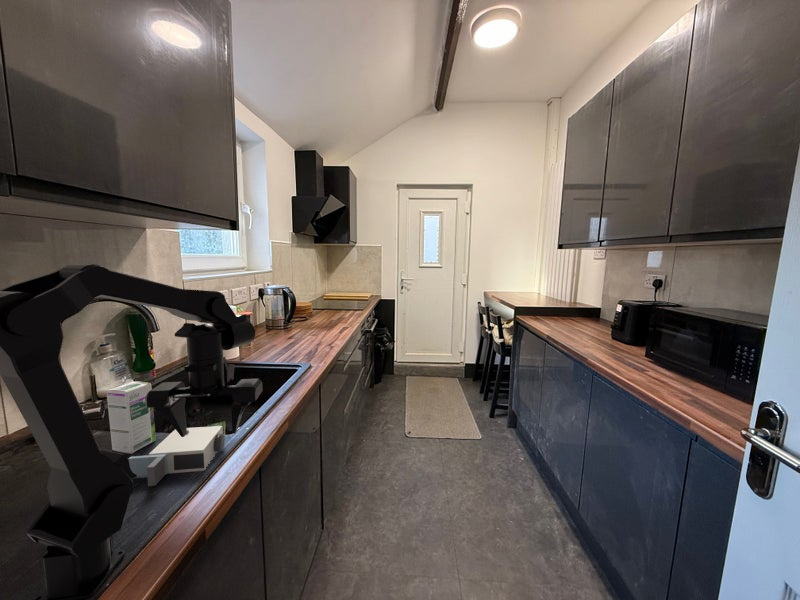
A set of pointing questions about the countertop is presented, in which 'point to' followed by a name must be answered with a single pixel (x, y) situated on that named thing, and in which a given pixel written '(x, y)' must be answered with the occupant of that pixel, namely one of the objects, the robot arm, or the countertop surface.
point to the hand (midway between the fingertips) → (209, 434)
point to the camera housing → (191, 448)
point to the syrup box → (130, 417)
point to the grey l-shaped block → (149, 467)
